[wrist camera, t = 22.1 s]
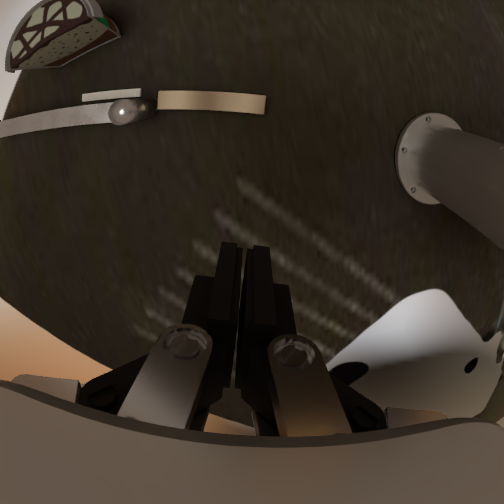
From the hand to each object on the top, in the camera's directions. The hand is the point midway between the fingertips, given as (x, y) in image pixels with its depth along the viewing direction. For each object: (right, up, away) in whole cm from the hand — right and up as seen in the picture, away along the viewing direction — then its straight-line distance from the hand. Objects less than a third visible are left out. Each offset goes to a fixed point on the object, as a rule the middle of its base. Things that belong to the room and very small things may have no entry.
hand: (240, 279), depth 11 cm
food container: (-20, +28, +12) cm, 37 cm away
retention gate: (-22, +18, +17) cm, 34 cm away
